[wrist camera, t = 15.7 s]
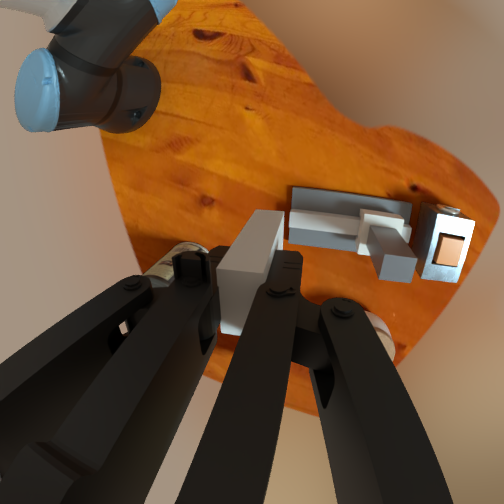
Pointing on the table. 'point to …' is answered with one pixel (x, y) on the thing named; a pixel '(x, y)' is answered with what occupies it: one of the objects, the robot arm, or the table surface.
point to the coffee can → (169, 265)
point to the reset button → (448, 249)
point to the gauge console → (426, 239)
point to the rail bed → (338, 207)
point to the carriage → (385, 245)
